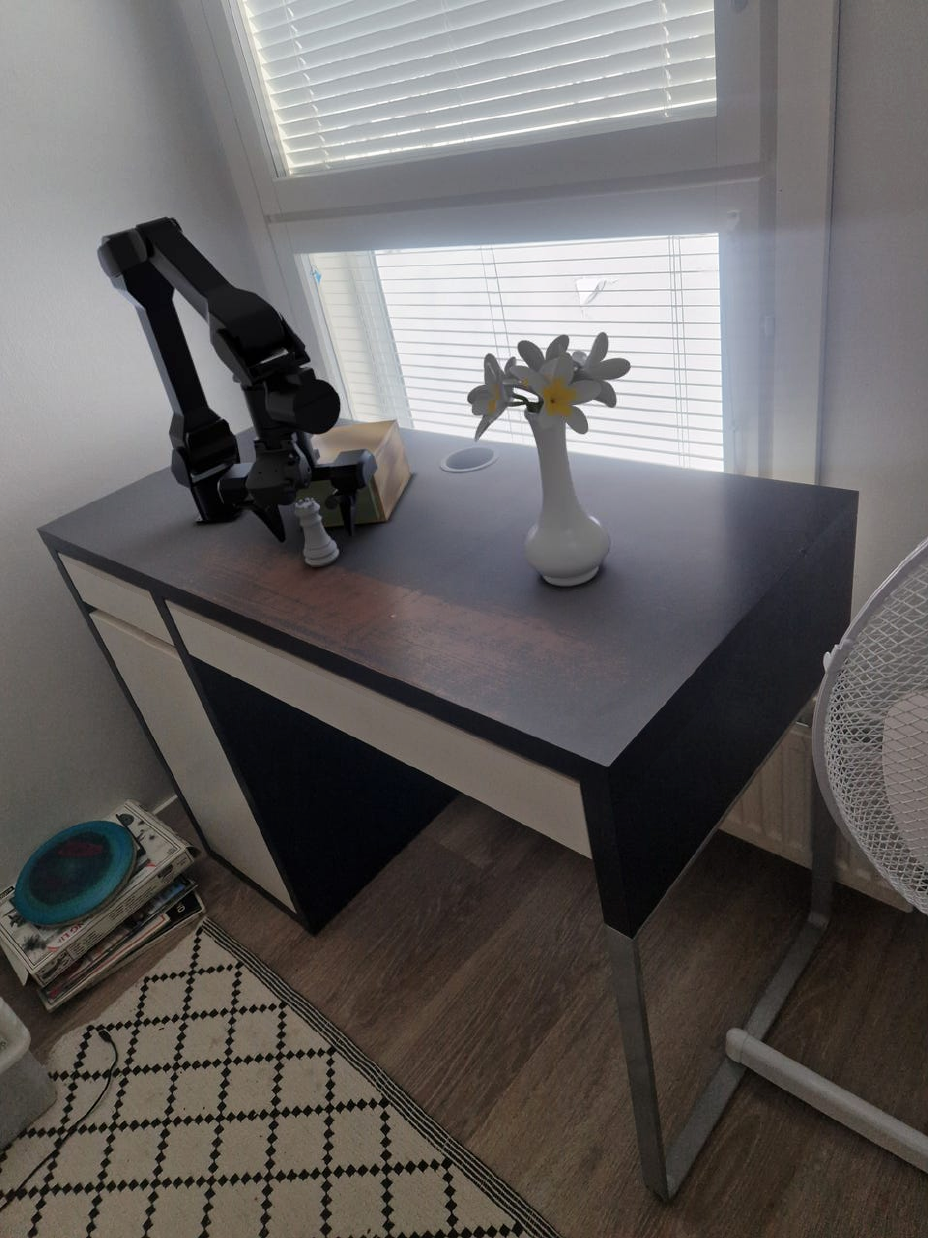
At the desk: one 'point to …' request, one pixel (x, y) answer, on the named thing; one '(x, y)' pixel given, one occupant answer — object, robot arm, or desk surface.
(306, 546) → the rook chess piece
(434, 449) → the desk surface
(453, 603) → the desk surface
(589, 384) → the flower vase
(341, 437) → the drawer unit
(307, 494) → the drawer
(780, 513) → the desk surface
